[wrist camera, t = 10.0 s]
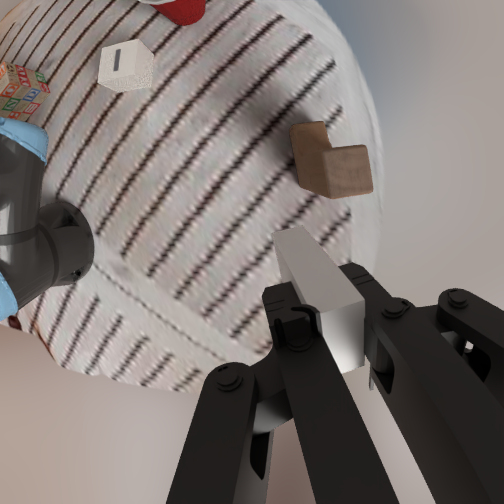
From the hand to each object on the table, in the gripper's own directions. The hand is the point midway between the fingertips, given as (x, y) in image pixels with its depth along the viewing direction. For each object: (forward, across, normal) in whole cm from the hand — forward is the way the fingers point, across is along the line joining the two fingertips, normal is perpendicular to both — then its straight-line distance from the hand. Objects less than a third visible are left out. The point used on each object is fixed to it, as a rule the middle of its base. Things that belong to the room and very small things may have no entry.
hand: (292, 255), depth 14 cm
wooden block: (+29, +10, +1) cm, 31 cm away
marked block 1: (+34, -12, +21) cm, 42 cm away
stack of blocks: (+38, -41, +26) cm, 62 cm away
